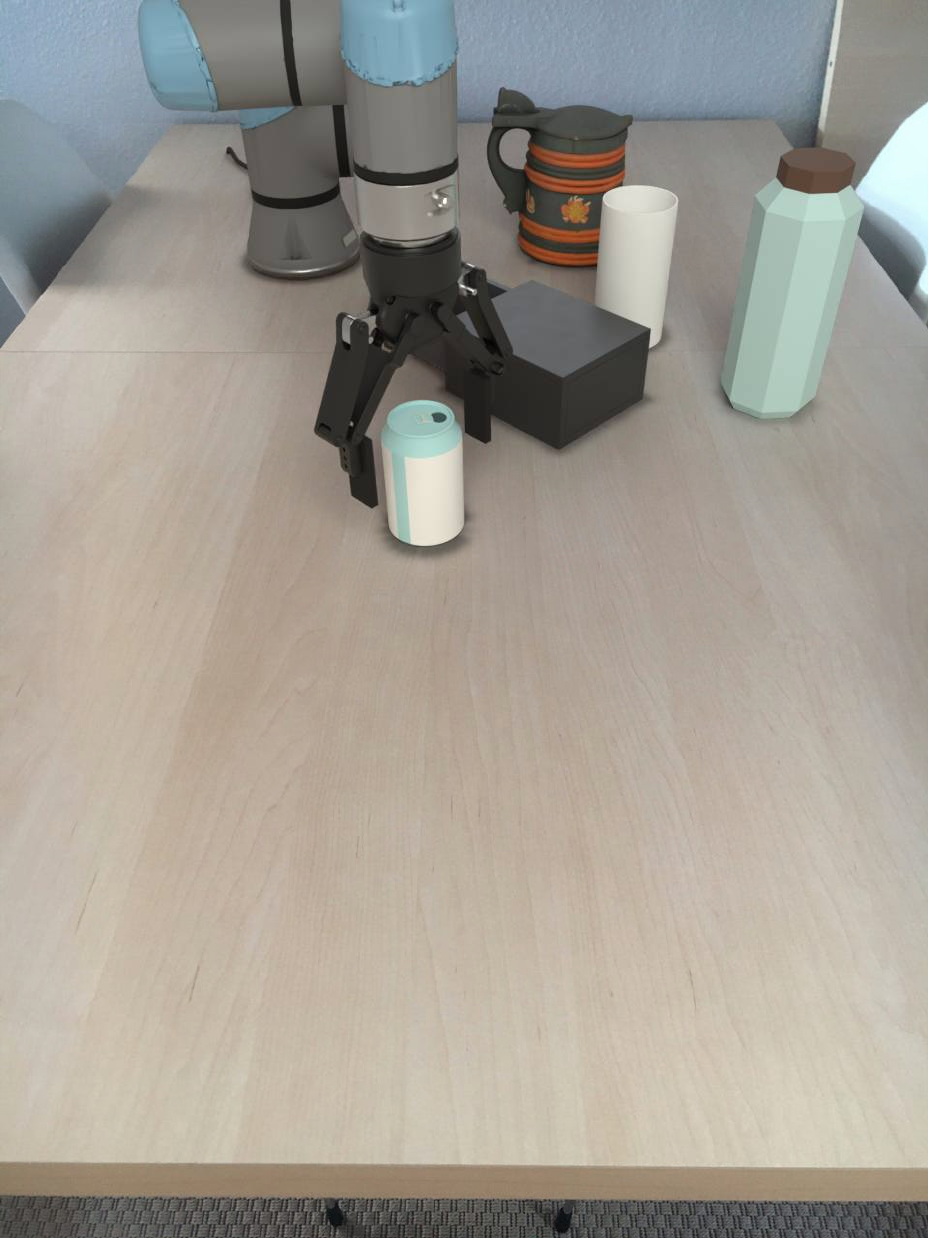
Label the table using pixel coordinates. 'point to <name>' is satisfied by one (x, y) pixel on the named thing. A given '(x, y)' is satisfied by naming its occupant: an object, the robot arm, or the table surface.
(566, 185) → the beer stein
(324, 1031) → the table surface
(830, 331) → the water bottle
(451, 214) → the robot arm
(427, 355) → the drawer
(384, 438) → the can
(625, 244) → the cup
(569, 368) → the cabinet
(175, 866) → the table surface
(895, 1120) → the table surface
